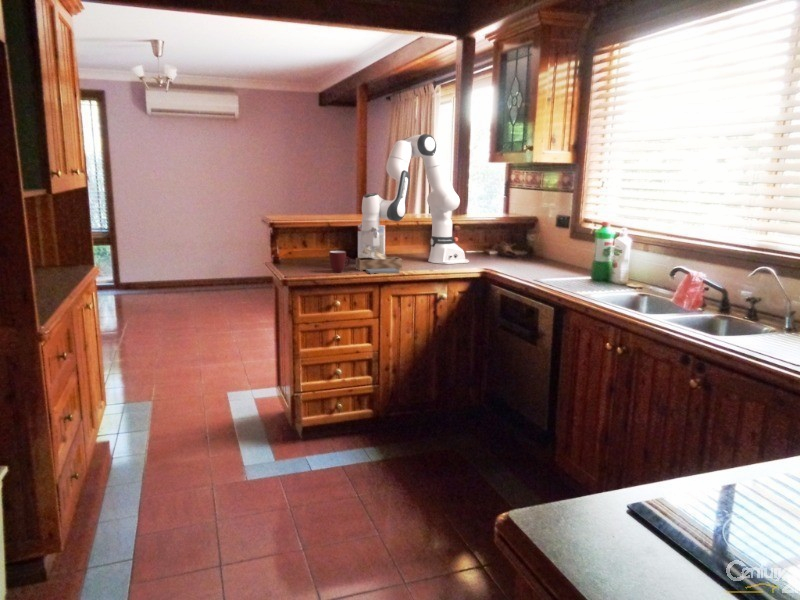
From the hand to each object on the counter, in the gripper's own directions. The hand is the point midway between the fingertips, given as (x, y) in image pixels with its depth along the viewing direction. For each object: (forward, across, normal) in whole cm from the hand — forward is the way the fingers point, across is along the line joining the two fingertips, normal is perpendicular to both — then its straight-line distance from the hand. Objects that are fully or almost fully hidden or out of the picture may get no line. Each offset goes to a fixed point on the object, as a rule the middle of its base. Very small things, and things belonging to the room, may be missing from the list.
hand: (370, 254), depth 309 cm
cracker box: (+8, +17, -6) cm, 20 cm away
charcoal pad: (+8, -9, -4) cm, 13 cm away
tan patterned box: (+8, 0, -4) cm, 9 cm away
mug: (+8, -4, +16) cm, 19 cm away
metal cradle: (+3, 0, -5) cm, 6 cm away
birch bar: (+1, 0, -2) cm, 2 cm away
